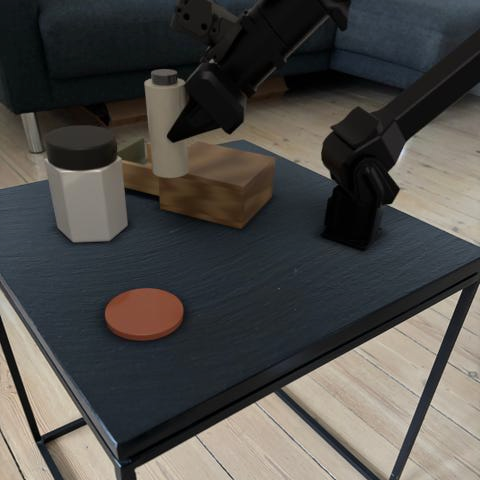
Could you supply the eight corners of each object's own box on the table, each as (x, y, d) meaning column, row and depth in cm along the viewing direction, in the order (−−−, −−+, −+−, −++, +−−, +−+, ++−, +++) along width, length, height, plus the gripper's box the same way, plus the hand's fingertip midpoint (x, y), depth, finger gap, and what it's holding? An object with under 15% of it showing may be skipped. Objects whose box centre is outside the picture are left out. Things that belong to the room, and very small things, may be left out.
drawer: (94, 184, 76) (90, 155, 73) (133, 161, 84) (131, 134, 81) (169, 203, 72) (168, 173, 70) (203, 177, 80) (203, 149, 77)
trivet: (199, 311, 55) (198, 305, 54) (148, 352, 49) (147, 345, 49) (142, 285, 58) (141, 279, 57) (88, 320, 53) (87, 314, 52)
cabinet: (159, 208, 73) (157, 167, 69) (197, 179, 81) (197, 141, 78) (241, 229, 69) (243, 186, 66) (272, 196, 78) (275, 157, 74)
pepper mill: (192, 165, 64) (189, 68, 57) (183, 179, 60) (178, 78, 53) (158, 162, 64) (150, 66, 57) (147, 176, 61) (137, 76, 54)
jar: (138, 232, 67) (130, 141, 60) (79, 251, 63) (63, 155, 56) (105, 207, 73) (94, 119, 65) (49, 222, 68) (31, 131, 61)
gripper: (229, -49, 56) (138, 58, 63) (205, -36, 41) (92, 101, 49) (295, 35, 60) (203, 126, 68) (295, 74, 46) (178, 184, 53)
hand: (173, 132), depth 59 cm, fingers closed on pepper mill, 4 cm apart
